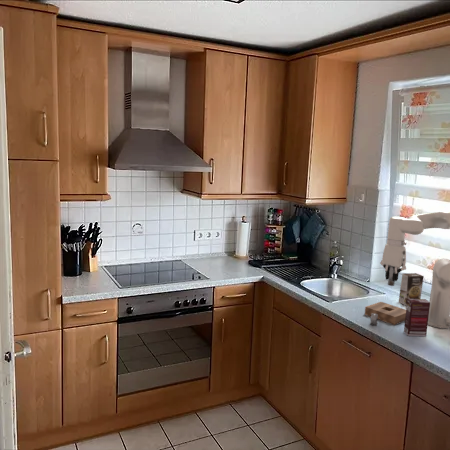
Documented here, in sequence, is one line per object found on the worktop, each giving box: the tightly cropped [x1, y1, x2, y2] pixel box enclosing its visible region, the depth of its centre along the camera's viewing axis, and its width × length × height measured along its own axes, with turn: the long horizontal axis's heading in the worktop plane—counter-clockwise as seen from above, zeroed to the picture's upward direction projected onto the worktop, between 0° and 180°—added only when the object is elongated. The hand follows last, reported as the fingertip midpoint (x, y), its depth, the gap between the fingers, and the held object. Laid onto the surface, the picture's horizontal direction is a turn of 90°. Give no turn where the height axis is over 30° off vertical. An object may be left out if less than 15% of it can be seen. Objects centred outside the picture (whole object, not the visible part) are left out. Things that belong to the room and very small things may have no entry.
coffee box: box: [398, 272, 425, 307], centre depth 250 cm, size 9×6×16 cm
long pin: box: [387, 266, 396, 287], centre depth 226 cm, size 3×3×10 cm
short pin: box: [369, 313, 379, 327], centre depth 218 cm, size 3×3×5 cm
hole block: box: [364, 301, 406, 326], centre depth 229 cm, size 16×14×4 cm
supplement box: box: [403, 298, 430, 337], centre depth 208 cm, size 9×5×16 cm, turn 92°
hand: (391, 279), depth 226 cm, fingers closed on long pin, 3 cm apart
